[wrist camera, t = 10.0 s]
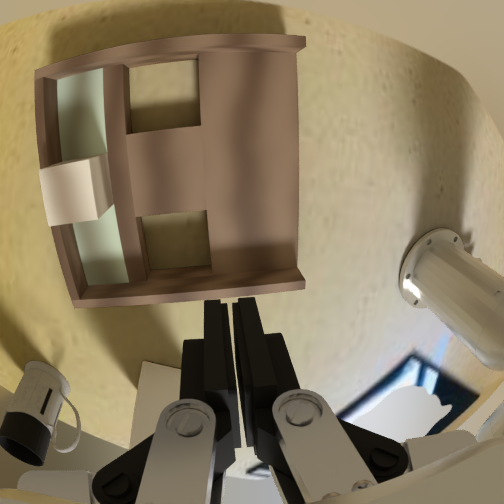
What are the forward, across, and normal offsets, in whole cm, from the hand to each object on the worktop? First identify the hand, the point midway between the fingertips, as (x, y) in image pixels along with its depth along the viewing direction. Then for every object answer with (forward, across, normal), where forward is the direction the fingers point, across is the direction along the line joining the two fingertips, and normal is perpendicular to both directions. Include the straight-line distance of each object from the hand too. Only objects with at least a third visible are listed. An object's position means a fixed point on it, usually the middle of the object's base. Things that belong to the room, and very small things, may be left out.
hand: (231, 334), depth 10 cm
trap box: (+22, +4, -3) cm, 23 cm away
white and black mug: (+22, +28, +27) cm, 44 cm away
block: (+20, +13, -3) cm, 24 cm away
